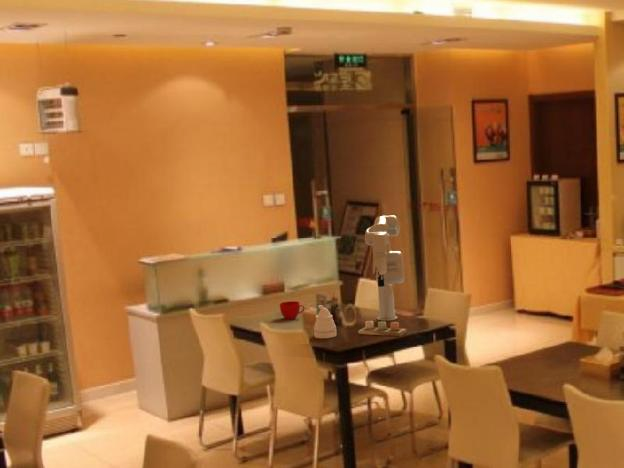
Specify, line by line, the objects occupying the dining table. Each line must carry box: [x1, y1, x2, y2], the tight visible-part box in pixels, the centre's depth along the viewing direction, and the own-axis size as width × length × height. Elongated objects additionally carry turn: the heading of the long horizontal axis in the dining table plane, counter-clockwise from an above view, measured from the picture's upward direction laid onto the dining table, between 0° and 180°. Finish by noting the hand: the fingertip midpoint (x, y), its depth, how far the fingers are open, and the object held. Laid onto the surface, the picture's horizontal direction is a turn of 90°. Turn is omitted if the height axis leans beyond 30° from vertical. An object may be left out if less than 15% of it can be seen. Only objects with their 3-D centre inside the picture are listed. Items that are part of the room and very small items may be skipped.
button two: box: [377, 321, 387, 330], centre depth 502 cm, size 5×5×4 cm
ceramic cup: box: [279, 300, 305, 320], centre depth 562 cm, size 13×17×10 cm
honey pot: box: [313, 304, 338, 339], centre depth 504 cm, size 13×13×18 cm
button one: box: [364, 320, 375, 329], centre depth 506 cm, size 5×5×4 cm
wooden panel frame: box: [357, 326, 408, 337], centre depth 502 cm, size 10×26×2 cm, turn 61°
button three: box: [390, 321, 400, 331], centre depth 498 cm, size 5×5×4 cm
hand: (381, 286), depth 501 cm, fingers closed
